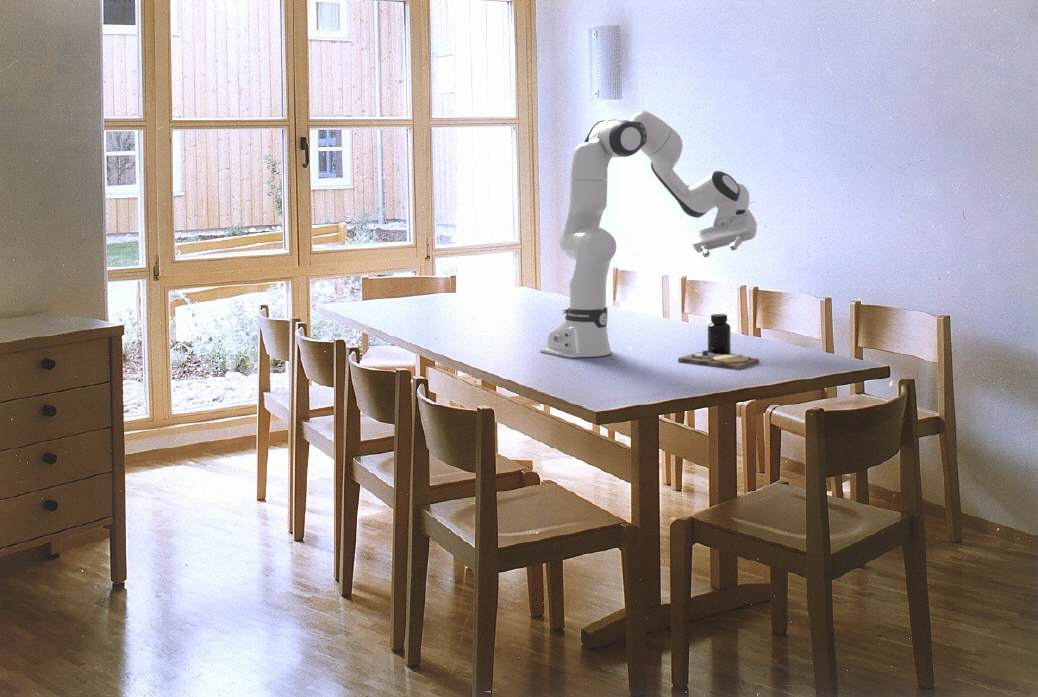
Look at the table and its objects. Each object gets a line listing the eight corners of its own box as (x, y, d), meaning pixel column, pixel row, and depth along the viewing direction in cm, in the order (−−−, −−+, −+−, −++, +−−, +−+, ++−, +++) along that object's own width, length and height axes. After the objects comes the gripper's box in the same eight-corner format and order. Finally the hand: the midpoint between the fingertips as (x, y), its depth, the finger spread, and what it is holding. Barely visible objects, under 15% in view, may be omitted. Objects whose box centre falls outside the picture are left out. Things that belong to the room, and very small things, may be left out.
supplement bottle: (717, 351, 372) (718, 312, 370) (735, 354, 367) (735, 314, 365) (702, 354, 368) (703, 315, 366) (720, 357, 363) (720, 317, 361)
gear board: (678, 362, 356) (678, 352, 355) (699, 355, 365) (700, 346, 364) (738, 369, 343) (738, 359, 343) (759, 363, 352) (759, 352, 352)
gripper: (694, 223, 383) (684, 252, 374) (753, 208, 371) (744, 236, 362) (703, 238, 386) (693, 267, 377) (761, 223, 375) (753, 252, 366)
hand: (719, 252), depth 370 cm, fingers open, 8 cm apart
